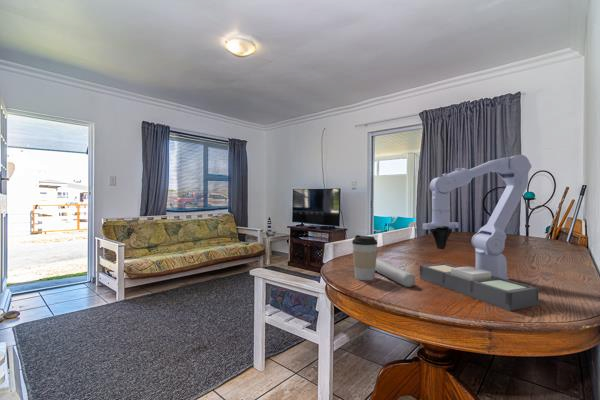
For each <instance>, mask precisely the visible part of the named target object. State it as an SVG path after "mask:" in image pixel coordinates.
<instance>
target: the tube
mask: <svg viewBox="0 0 600 400" xmlns="http://www.w3.org/2000/svg"><path fill="white" fill-rule="evenodd" d="M376 271H377V272H376ZM375 272H376V273H378V274H381V275H382V276H384V277H386V278H388V279H390V280H392V281H394V282H396V283H397V284H399V285H402V286H404V287H405V288H411V287H413V286H414V285H416V278H415V277H416V276H415V275H414V274H412V273H411V272H409V271H407V270H405V269H403V268H401V267H398V266H396V265H393V264H391V263H388V262H387V261H385V260H382V259H381V258H380V259H379V258H378V256H377V257H376V267H375Z"/></svg>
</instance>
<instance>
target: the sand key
mask: <svg viewBox="0 0 600 400" xmlns="http://www.w3.org/2000/svg"><path fill="white" fill-rule="evenodd" d="M429 268H433V269H436V270H439V271H443V272H451V268H454V267H450V266H446V265H439V266H430V267H429Z"/></svg>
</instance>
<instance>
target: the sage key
mask: <svg viewBox="0 0 600 400" xmlns="http://www.w3.org/2000/svg"><path fill="white" fill-rule="evenodd" d="M480 283H483V284H486V285H489V286H493V287H496V288H499V289H503V290H506V291H512V290H518V289H524V288H527V287H524V286H520V285H517V284H513V283H509V282H506V281H502V280H494V281H487V282H480Z"/></svg>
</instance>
